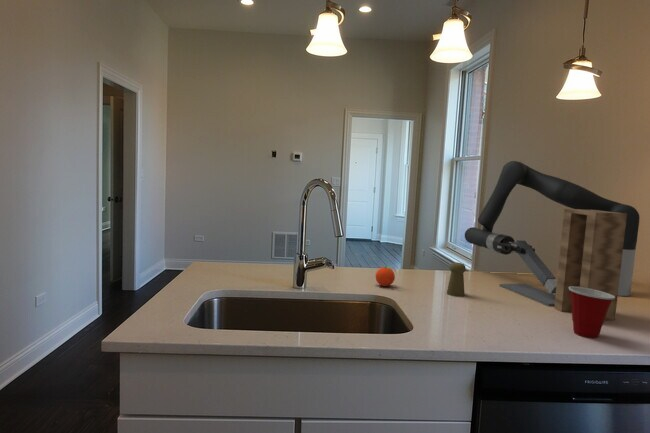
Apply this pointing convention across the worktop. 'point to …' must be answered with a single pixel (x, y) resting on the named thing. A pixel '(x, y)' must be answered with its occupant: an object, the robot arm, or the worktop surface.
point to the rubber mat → (532, 293)
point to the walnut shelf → (590, 255)
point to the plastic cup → (589, 310)
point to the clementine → (385, 276)
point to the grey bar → (537, 267)
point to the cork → (456, 280)
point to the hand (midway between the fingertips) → (529, 251)
